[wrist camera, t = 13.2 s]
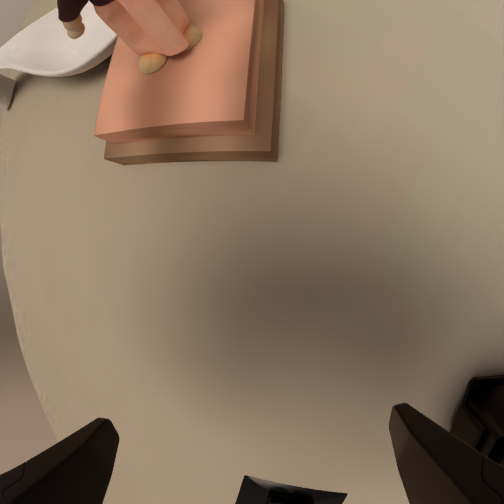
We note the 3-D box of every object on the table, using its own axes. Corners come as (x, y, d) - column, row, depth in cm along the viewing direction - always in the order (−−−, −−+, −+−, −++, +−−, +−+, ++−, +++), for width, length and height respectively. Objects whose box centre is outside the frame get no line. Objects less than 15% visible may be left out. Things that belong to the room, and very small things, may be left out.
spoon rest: (162, -19, 20) (128, -58, 13) (152, 63, 21) (101, 21, 14) (19, 63, 26) (-17, 49, 19) (2, 139, 26) (-40, 129, 19)
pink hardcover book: (284, 4, 18) (273, -37, 13) (277, 161, 19) (261, 138, 14) (152, 24, 21) (124, -4, 16) (123, 164, 22) (81, 151, 17)
